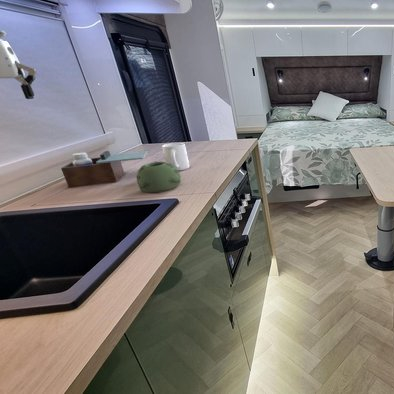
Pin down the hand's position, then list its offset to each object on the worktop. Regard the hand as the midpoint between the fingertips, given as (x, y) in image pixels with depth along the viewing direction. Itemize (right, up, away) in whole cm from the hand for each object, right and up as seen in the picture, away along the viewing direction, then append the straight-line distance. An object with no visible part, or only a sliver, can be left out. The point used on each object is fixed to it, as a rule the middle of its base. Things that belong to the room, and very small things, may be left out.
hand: (8, 99), depth 87 cm
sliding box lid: (+15, -14, +25) cm, 33 cm away
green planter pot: (+35, -26, +16) cm, 47 cm away
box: (+6, -23, +24) cm, 34 cm away
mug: (+30, -18, +36) cm, 50 cm away
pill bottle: (+4, -23, +23) cm, 32 cm away
